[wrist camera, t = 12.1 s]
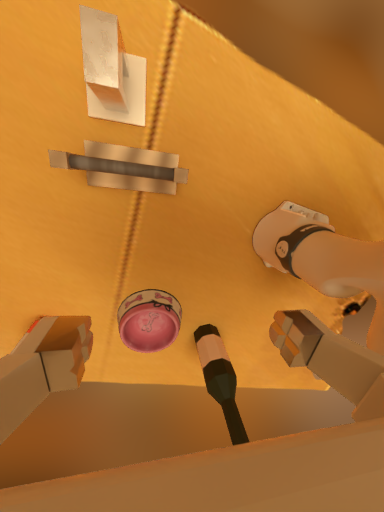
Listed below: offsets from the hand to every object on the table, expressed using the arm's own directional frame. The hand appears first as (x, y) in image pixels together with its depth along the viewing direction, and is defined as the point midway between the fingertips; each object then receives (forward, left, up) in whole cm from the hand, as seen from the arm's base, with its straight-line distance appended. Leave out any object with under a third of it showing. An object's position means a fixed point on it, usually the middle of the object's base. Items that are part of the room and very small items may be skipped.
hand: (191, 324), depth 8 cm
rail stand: (+6, -6, -39) cm, 40 cm away
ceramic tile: (+9, -19, -39) cm, 44 cm away
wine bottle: (-17, +41, -39) cm, 59 cm away
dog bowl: (+1, +33, -40) cm, 52 cm away
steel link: (+9, -19, -38) cm, 44 cm away
